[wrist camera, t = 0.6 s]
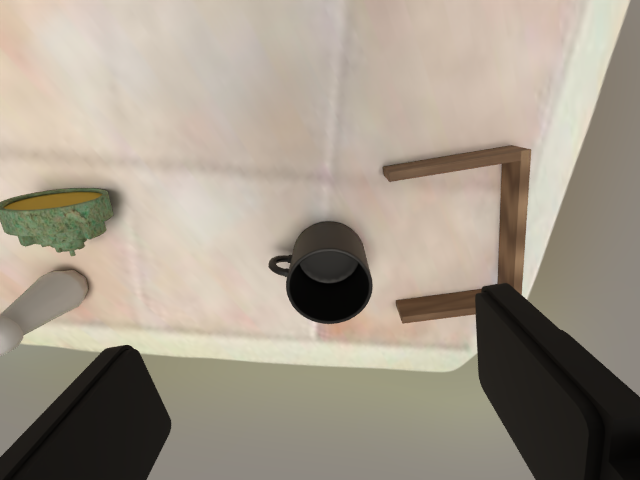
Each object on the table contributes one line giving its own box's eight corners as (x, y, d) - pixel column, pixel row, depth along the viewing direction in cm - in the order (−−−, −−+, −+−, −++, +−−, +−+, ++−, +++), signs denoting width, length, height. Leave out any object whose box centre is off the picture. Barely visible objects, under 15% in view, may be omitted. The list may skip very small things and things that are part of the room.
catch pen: (382, 166, 40) (388, 172, 36) (511, 145, 38) (531, 149, 35) (396, 306, 47) (402, 323, 43) (504, 292, 46) (520, 308, 42)
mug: (277, 213, 42) (265, 240, 34) (369, 225, 43) (380, 254, 34) (272, 278, 46) (259, 316, 37) (357, 288, 46) (364, 329, 38)
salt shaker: (49, 290, 47) (-47, 353, 35) (55, 257, 45) (-44, 312, 33) (90, 305, 48) (10, 372, 36) (98, 274, 46) (17, 334, 34)
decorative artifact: (125, 188, 41) (67, 211, 32) (136, 240, 44) (86, 275, 35) (46, 187, 41) (-34, 210, 32) (62, 239, 44) (-8, 274, 35)
